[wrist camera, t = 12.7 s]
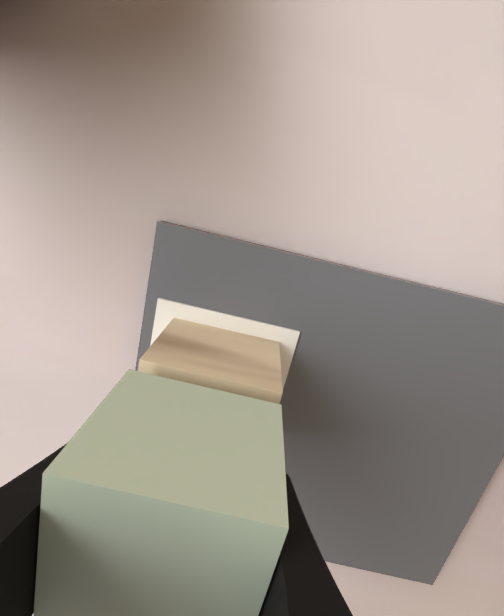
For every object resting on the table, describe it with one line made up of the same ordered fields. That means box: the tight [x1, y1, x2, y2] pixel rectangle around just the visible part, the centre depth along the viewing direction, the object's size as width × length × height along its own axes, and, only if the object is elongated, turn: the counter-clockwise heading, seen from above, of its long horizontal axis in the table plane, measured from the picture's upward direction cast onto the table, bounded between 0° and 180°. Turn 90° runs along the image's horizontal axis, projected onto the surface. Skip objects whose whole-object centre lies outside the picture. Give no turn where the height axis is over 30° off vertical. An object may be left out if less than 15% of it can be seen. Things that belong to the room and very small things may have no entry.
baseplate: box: [135, 221, 504, 585], centre depth 16 cm, size 15×17×1 cm
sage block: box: [33, 369, 289, 616], centre depth 9 cm, size 4×4×4 cm
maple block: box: [138, 318, 283, 404], centre depth 13 cm, size 4×4×4 cm
